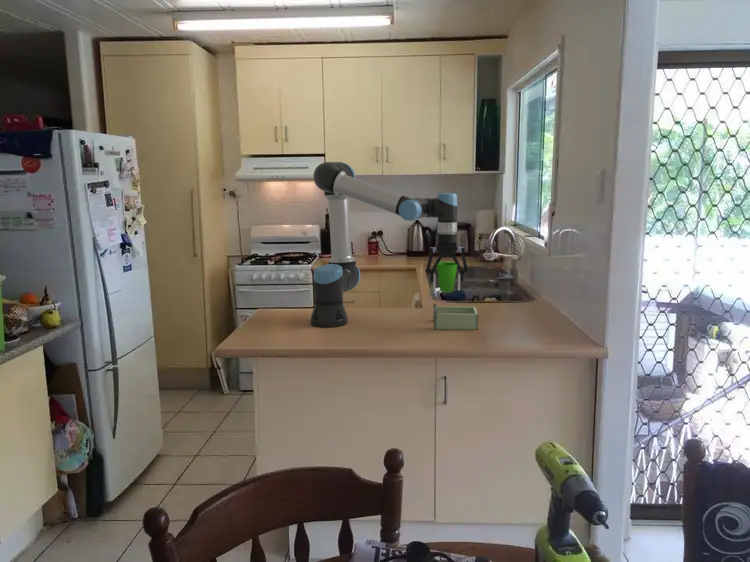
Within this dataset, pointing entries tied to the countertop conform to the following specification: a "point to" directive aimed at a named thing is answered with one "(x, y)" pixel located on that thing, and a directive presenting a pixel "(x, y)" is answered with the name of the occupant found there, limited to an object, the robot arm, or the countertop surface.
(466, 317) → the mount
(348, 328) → the countertop surface
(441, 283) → the cup
